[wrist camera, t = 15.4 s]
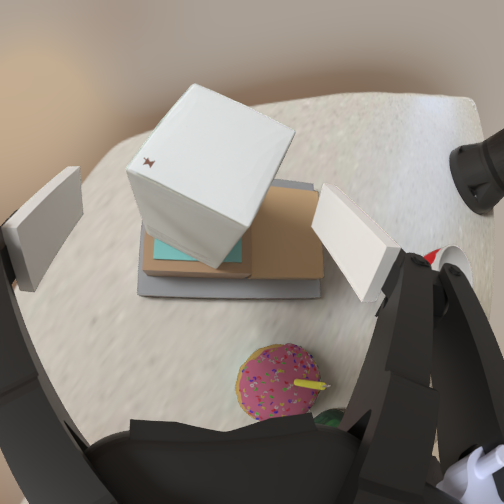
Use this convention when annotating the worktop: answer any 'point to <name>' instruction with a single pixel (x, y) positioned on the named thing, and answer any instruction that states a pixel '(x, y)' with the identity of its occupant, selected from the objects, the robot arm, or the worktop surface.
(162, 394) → the worktop surface
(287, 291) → the build base
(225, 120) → the supplement box
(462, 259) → the cup
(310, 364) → the cupcake
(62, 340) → the worktop surface
